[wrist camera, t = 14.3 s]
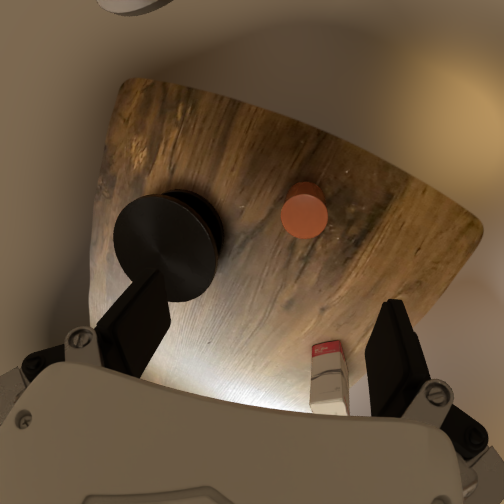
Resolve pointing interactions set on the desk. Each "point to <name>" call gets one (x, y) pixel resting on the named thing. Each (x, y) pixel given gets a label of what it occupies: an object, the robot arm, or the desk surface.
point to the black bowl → (171, 241)
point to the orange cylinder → (304, 210)
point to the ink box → (329, 380)
